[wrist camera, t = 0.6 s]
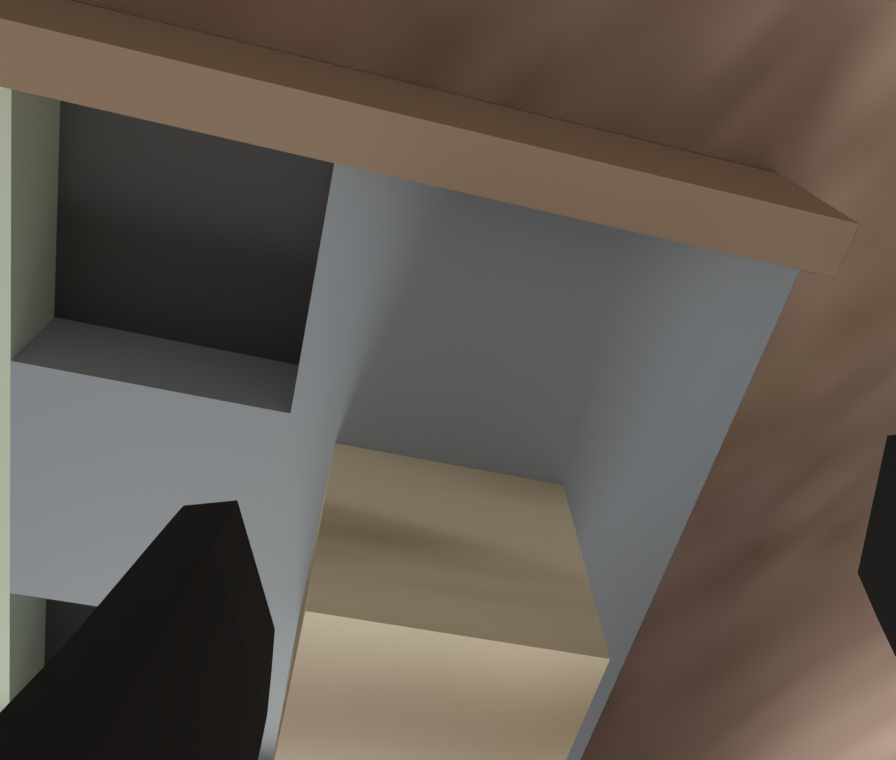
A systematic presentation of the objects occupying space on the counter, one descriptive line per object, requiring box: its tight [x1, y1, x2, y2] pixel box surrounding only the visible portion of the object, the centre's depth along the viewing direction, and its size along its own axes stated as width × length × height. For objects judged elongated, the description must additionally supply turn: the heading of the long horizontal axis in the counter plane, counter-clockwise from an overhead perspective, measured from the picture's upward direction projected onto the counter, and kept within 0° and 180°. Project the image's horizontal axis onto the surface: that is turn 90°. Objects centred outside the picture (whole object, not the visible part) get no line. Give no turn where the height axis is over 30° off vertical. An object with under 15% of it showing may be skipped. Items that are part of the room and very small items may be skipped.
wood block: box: [273, 443, 610, 760], centre depth 17 cm, size 5×5×5 cm
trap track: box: [0, 0, 859, 760], centre depth 19 cm, size 19×20×4 cm
